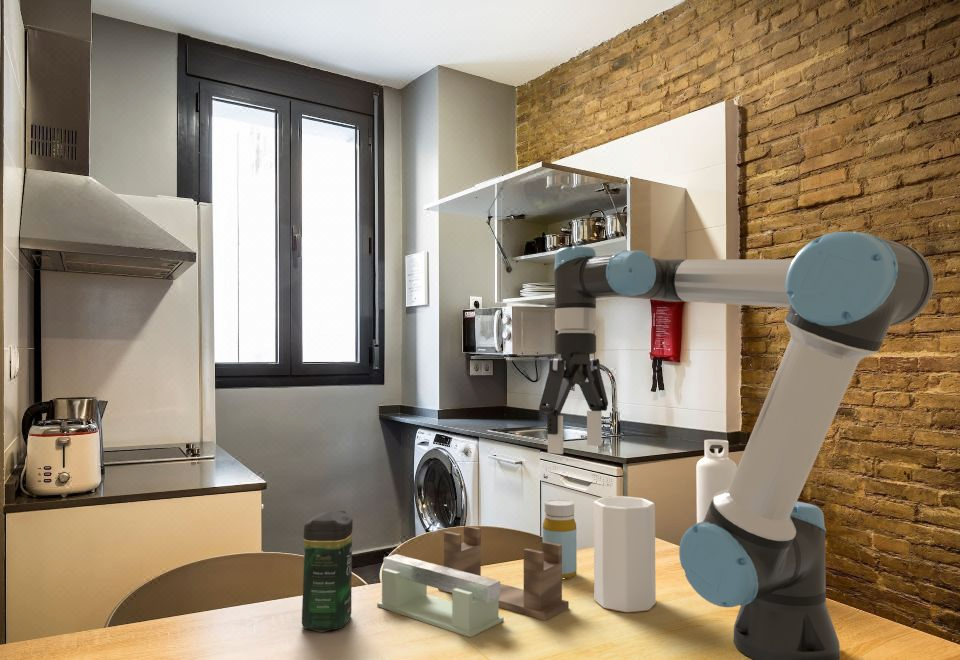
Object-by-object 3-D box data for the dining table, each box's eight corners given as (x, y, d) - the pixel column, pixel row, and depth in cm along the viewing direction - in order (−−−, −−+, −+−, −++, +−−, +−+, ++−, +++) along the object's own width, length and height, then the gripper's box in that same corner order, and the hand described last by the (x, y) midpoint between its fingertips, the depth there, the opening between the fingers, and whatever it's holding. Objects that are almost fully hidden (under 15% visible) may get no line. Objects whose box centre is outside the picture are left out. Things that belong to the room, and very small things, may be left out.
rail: (500, 597, 115) (500, 581, 116) (488, 603, 113) (488, 585, 113) (395, 568, 131) (395, 554, 131) (383, 573, 129) (383, 557, 129)
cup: (627, 618, 120) (626, 511, 121) (581, 599, 129) (581, 500, 130) (668, 604, 126) (667, 503, 127) (622, 588, 135) (622, 493, 136)
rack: (568, 608, 125) (568, 545, 125) (545, 620, 119) (545, 554, 119) (463, 579, 140) (463, 524, 141) (438, 589, 134) (438, 531, 135)
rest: (503, 620, 118) (503, 582, 119) (470, 637, 111) (470, 596, 112) (412, 593, 132) (412, 558, 133) (377, 606, 125) (377, 569, 126)
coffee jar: (344, 634, 113) (345, 519, 114) (296, 633, 113) (298, 519, 114) (356, 612, 123) (357, 506, 123) (312, 611, 123) (313, 506, 123)
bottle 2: (697, 580, 140) (696, 442, 141) (697, 568, 148) (695, 438, 149) (739, 584, 138) (738, 443, 139) (737, 572, 146) (735, 439, 147)
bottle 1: (536, 572, 145) (536, 500, 146) (565, 568, 148) (564, 497, 149) (553, 582, 139) (553, 507, 140) (583, 577, 142) (582, 504, 143)
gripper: (591, 334, 138) (591, 441, 137) (518, 330, 118) (518, 454, 118) (625, 333, 133) (626, 444, 132) (555, 329, 114) (556, 458, 113)
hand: (575, 449), depth 125 cm, fingers open, 13 cm apart
